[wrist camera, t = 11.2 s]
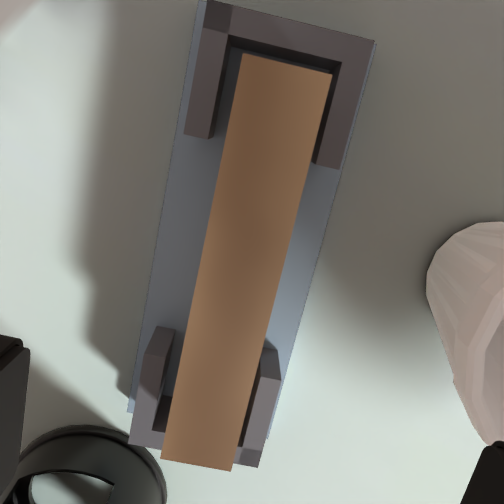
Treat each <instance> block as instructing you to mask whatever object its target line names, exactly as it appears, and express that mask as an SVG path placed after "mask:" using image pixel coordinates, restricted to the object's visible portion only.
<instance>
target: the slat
mask: <svg viewBox="0 0 504 504" xmlns="http://www.w3.org/2000/svg"><path fill="white" fill-rule="evenodd" d="M331 79H332V75H331V74H327V73H323V72H319V71H315V70H311V69H307V68H303V67H299V66H295V65H290V64H286V63H282V62H278V61H274V60H270V59H266V58H262V57H258V56H254V55H250V54H245V53H243V55H242V60H241V65H240V70H239V75H238V80H237V85H236V89H235V94H234V99H233V104H232V109H231V114H230V119H229V124H228V129H227V134H226V138H225V143H224V148H223V153H222V158H221V163H220V168H219V173H218V178H217V182H216V187H215V192H214V197H213V202H212V207H211V212H210V217H209V222H208V227H207V231H206V236H205V241H204V246H203V251H202V256H201V261H200V266H199V271H198V276H197V280H196V285H195V290H194V295H193V300H192V305H191V310H190V315H189V320H188V324H187V329H186V334H185V339H184V344H183V349H182V354H181V359H180V364H179V369H178V373H177V378H176V383H175V388H174V393H173V398H172V403H171V408H170V413H169V418H168V422H167V427H166V432H165V437H164V442H163V447H162V452H161V457H160V459H165V460H170V461H176V462H181V463H187V464H192V465H198V466H203V467H208V468H214V469H219V470H225V471H230V472H231V469H232V465H233V461H234V457H235V453H236V449H237V445H238V441H239V437H240V434H241V430H242V426H243V422H244V418H245V414H246V410H247V406H248V402H249V398H250V395H251V391H252V387H253V383H254V379H255V375H256V371H257V367H258V363H259V359H260V356H261V352H262V348H263V344H264V340H265V336H266V332H267V328H268V324H269V320H270V317H271V313H272V309H273V305H274V301H275V297H276V293H277V289H278V285H279V281H280V278H281V274H282V270H283V266H284V262H285V258H286V254H287V250H288V246H289V242H290V239H291V235H292V231H293V227H294V223H295V219H296V215H297V211H298V207H299V203H300V200H301V196H302V192H303V188H304V184H305V180H306V176H307V172H308V168H309V164H310V161H311V157H312V153H313V149H314V145H315V141H316V137H317V133H318V129H319V125H320V122H321V118H322V114H323V110H324V106H325V102H326V98H327V94H328V90H329V86H330V82H331Z"/></svg>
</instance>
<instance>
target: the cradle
mask: <svg viewBox="0 0 504 504" xmlns="http://www.w3.org/2000/svg"><path fill="white" fill-rule="evenodd" d="M374 42H375V41H374V40H370V39H366V38H362V37H358V36H354V35H350V34H346V33H342V32H338V31H334V30H330V29H326V28H322V27H318V26H314V25H310V24H306V23H302V22H298V21H294V20H290V19H286V18H282V17H278V16H274V15H270V14H266V13H262V12H258V11H254V10H250V9H246V8H242V7H238V6H234V5H230V4H226V3H222V2H218V1H214V0H207V2H205V1H201V0H199V2H198V7H197V13H196V19H195V24H194V30H193V36H192V42H191V47H190V53H189V59H188V65H187V70H186V76H185V82H184V88H183V93H182V99H181V105H180V111H179V116H178V122H177V128H176V133H175V139H174V145H173V151H172V156H171V162H170V168H169V174H168V179H167V185H166V191H165V197H164V202H163V208H162V214H161V219H160V225H159V231H158V237H157V242H156V248H155V254H154V260H153V265H152V271H151V277H150V283H149V288H148V294H147V300H146V306H145V311H144V317H143V323H142V328H141V334H140V340H139V346H138V351H137V357H136V363H135V369H134V374H133V380H132V386H131V392H130V397H129V403H128V409H127V412H129V413H133V418H132V423H131V429H130V435H129V440H128V444H132V445H137V446H143V447H148V448H154V449H159V450H162V447H163V442H164V437H165V432H166V427H167V422H168V418H169V413H170V408H171V403H172V398H173V393H174V388H175V383H176V378H177V373H178V369H179V364H180V359H181V354H182V349H183V344H184V339H185V334H186V329H187V324H188V320H189V315H190V310H191V305H192V300H193V295H194V290H195V285H196V280H197V276H198V271H199V266H200V261H201V256H202V251H203V246H204V241H205V236H206V231H207V227H208V222H209V217H210V212H211V207H212V202H213V197H214V192H215V187H216V182H217V178H218V173H219V168H220V163H221V158H222V153H223V148H224V143H225V138H226V134H227V129H228V124H229V119H230V114H231V109H232V104H233V99H234V94H235V89H236V85H237V80H238V75H239V70H240V65H241V60H242V55H243V53H245V54H250V55H254V56H258V57H262V58H266V59H270V60H274V61H278V62H282V63H286V64H290V65H295V66H299V67H303V68H307V69H311V70H315V71H319V72H323V73H327V74H331V75H332V79H331V82H330V86H329V90H328V94H327V98H326V102H325V106H324V110H323V114H322V118H321V122H320V125H319V129H318V133H317V137H316V141H315V145H314V149H313V153H312V157H311V161H310V164H309V168H308V172H307V176H306V180H305V184H304V188H303V192H302V196H301V200H300V203H299V207H298V211H297V215H296V219H295V223H294V227H293V231H292V235H291V239H290V242H289V246H288V250H287V254H286V258H285V262H284V266H283V270H282V274H281V278H280V281H279V285H278V289H277V293H276V297H275V301H274V305H273V309H272V313H271V317H270V320H269V324H268V328H267V332H266V336H265V340H264V344H263V348H262V352H261V356H260V359H259V363H258V367H257V371H256V375H255V379H254V383H253V387H252V391H251V395H250V398H249V402H248V406H247V410H246V414H245V418H244V422H243V426H242V430H241V434H240V437H239V441H238V445H237V449H236V453H235V457H234V461H233V463H235V464H240V465H246V466H251V467H257V468H258V465H259V461H260V458H261V454H262V451H263V447H264V443H265V440H266V439H268V437H269V433H270V429H271V426H272V422H273V418H274V415H275V411H276V408H277V404H278V400H279V397H280V393H281V389H282V386H283V382H284V379H285V375H286V371H287V368H288V364H289V360H290V357H291V353H292V350H293V346H294V342H295V339H296V335H297V331H298V328H299V324H300V320H301V317H302V313H303V310H304V306H305V302H306V299H307V295H308V291H309V288H310V284H311V281H312V277H313V273H314V270H315V266H316V262H317V259H318V255H319V252H320V248H321V244H322V241H323V237H324V233H325V230H326V226H327V222H328V219H329V215H330V212H331V208H332V204H333V201H334V197H335V193H336V190H337V186H338V183H339V179H340V175H341V172H342V168H343V164H344V161H345V157H346V154H347V150H348V146H349V143H350V139H351V135H352V132H353V128H354V124H355V121H356V117H357V114H358V110H359V106H360V103H361V99H362V95H363V92H364V88H365V85H366V81H367V77H368V74H369V70H370V66H371V63H372V59H373V56H374V52H375V48H376V45H377V44H374Z"/></svg>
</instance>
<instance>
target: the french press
mask: <svg viewBox="0 0 504 504" xmlns="http://www.w3.org/2000/svg"><path fill="white" fill-rule="evenodd" d="M128 440H129V437H127V436H125V435H123V434H121V433H119V432H117V431H113V430H110V429H107V428H104V427H96V426H89V425H82V426H69V427H64V428H59V429H56V430H53V431H51V432H49V433H46V434H44V435H42V436H41V437H39V438H38V439H36V440H35V441H33V442H32V443H31V444H30V445H29V446H28V447H27V448H26V449H25V450H24V451H23V452H22V453H21V455H20V456H19V463H18V467H17V470H16V472H15V475H14V477H13V479H12V480H11V482H10V483H9V485H8V486H7V488H6V489H5V490H4V492H3V493H2V495H1V496H0V504H34V501H33V497H32V492H31V489H32V480H33V477H34V476H35V475H40V474H45V473H51V472H70V473H78V474H84V475H87V476H91V477H94V478H97V479H100V480H102V481H104V482H106V483H108V484H110V485H112V486H113V488H112V491H111V493H110V496H109V499H108V501H107V504H166V501H167V489H166V482H165V479H164V476H163V473H162V470H161V469H160V467H159V465H158V464H157V462H156V460H155V459H154V458H153V457H152V456H151V454H150V453H149V452H148V451H147V450H146V449H145V448H144V447H142V446H137V445H132V444H128Z"/></svg>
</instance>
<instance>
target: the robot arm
mask: <svg viewBox="0 0 504 504" xmlns="http://www.w3.org/2000/svg"><path fill="white" fill-rule="evenodd" d="M29 364H30V350H29V348H25V347H23V342H22V340H21V339H19V338H14V337H9V336H5V335H0V496H1V495H2V493H3V492H4V490H5V489H6V488H7V486H8V485H9V483H10V482H11V480H12V479H13V477H14V475H15V472H16V470H17V467H18V463H19V456H20V447H21V438H22V428H23V419H24V410H25V401H26V391H27V382H28V373H29ZM460 504H504V441H495V442H494V443H493V444H492V445H491V446H486V447H485V448H484V449H483V451H482V453H481V456H480V458H479V460H478V463H477V465H476V467H475V470H474V472H473V475H472V477H471V479H470V482H469V484H468V487H467V489H466V491H465V494H464V496H463V498H462V501H461V503H460Z"/></svg>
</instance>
